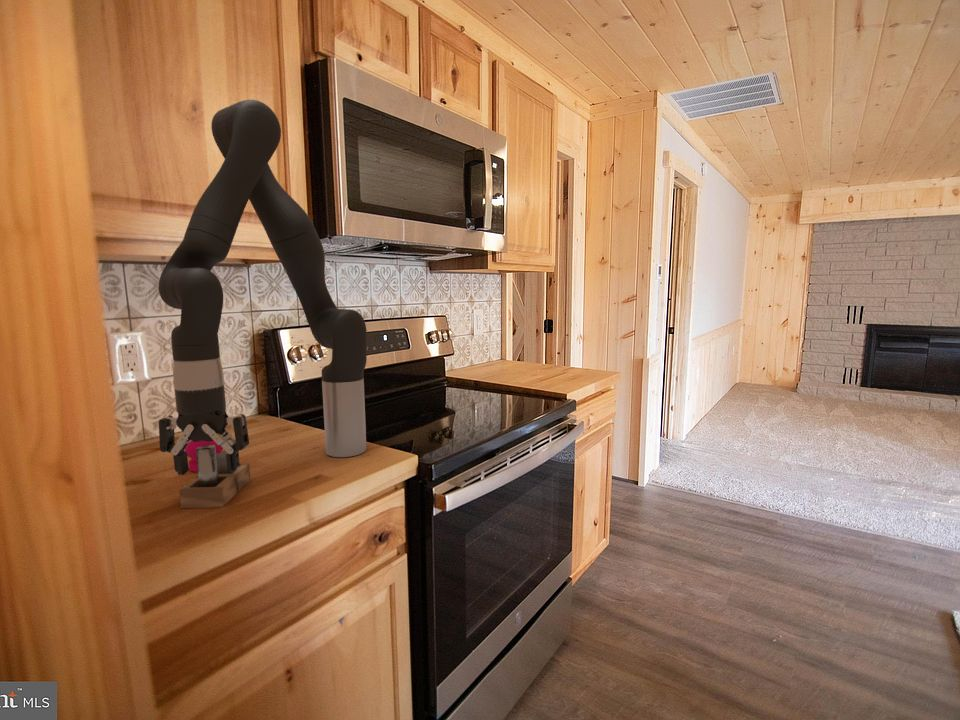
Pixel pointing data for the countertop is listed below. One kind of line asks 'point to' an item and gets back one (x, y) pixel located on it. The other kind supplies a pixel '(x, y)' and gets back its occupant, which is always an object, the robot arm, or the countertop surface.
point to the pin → (207, 466)
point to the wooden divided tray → (216, 495)
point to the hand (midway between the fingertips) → (207, 472)
